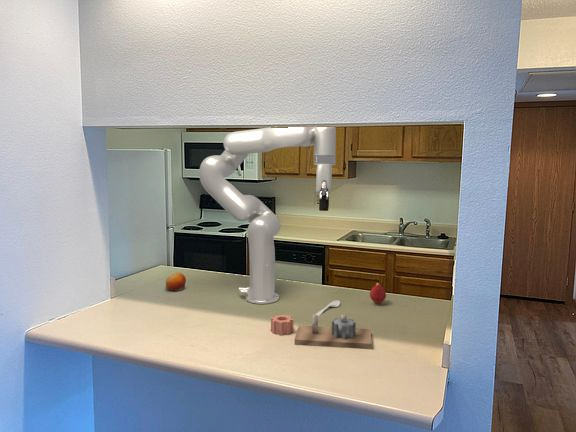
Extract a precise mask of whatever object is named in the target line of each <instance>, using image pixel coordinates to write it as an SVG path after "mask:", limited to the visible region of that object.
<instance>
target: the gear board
mask: <svg viewBox="0 0 576 432" xmlns="http://www.w3.org/2000/svg"><path fill="white" fill-rule="evenodd" d="M340 317H341V318H337V317H335V318H334V320H332V321H331V326H319V325H318V323H319V316H318V315H315V314H312V316H311V319H312V320H311V323H312V325H299V324H298V325H297V330H296V334H295V336H294V341H293V342H294V345H295V346H296V345H298V346H299V345H301V346H314V347H315V346H316V347H333V348H348V349H349V348H351V349H366V350H372V348H373V343H372V341H373V340H372V335H371V334H372V333H371V328H356V321H354V319H353V318H347V314H343V313H342V314H341V315H340Z"/></svg>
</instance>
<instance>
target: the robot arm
mask: <svg viewBox="0 0 576 432" xmlns="http://www.w3.org/2000/svg"><path fill="white" fill-rule="evenodd" d="M336 132H337V129H336V126H334V127H316V126H314V127H288V128H271V127H262V128H255V129H246V130H238V131H233V132H229V133H227V134H226V135H225V136H224V138H223V148H224V151H223V152H222V153H221V154H220V155H217V154H215V155H209V156H207V157H206V158H204V159H203V160H202V162H201V163H200V166H199V169H198V170H199V172H198V174H199V175H198V176H199V181H200V183H201V185H202V187H203V188H204V190H205V191H206V192H207V193H208V194H209V195H210V196H211V197H212V198H213V199H214V200H215V202H216V203H218V204H219V206H221V207H222V208H223V209H224V210H225V211H226V212H227V213H228V214H229V215H230V216H231V218H233V219H234V220H236V221H237V222H246V221H247V222H248V223H249V225H248V227H247V240H248V249H249V250H248V253H249V255H248V256H249V258H248V259H249V286H247V287H244V286H239V287H238V292H239V293H240V294H246V295H245V300H246V301H247V302H249V303H252V304H258V305H268V304H272V303H276V302H277V301H279V299H280V295H279V294H278V293H277V292H276V256H275V255H276V253H275V252H276V251H275V250H276V248H275V241H274V237H276V236H277V235H278V234H279V233H280V230H281V222H280V219H279V218H278V216H277V215H276V214H275V213H274V212H273V211H272V210H271V209H270V208H269V207H268V206H267V205H265V203H264V202H262V201H261V200H260V199H259V198H258V197H256V196H255V195H253V194H252V195H251V194H243V193H242V192H240V191H239V190H238V189H237V188H236V187H235V186H234V185H233V184H232V183H231V182H229V181H228V180H227V179H225V178H228V177H230V176H231V175H233V174H234V173H235V172H236V170H237V169H238V168H239V167H240V166H241V164H242V163H243V162H244V161H245V160H246V158H247V157H248V156H249V155H250V154H258V153H268V152H271V151H274V150H277V149H283V148H292V147H294V148H295V147H312V146H314V147H313V150H314V151H313V165H314V166H316V177H315V178H316V179H315V181H316V182H315V183H316V184H315V185H316V186H315V188H316V189H315V192H316V194H319V200H318V202H319V203H318V210H319V211H320V212H327V211H329V207H330V197H329V194H330V192H331V189H332V179H333V178H332V175H333V172H332V171H333V166H336V156H337V155H336V147H337V146H336V142H337V139H336V138H337V137H336V136H337V133H336Z"/></svg>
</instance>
